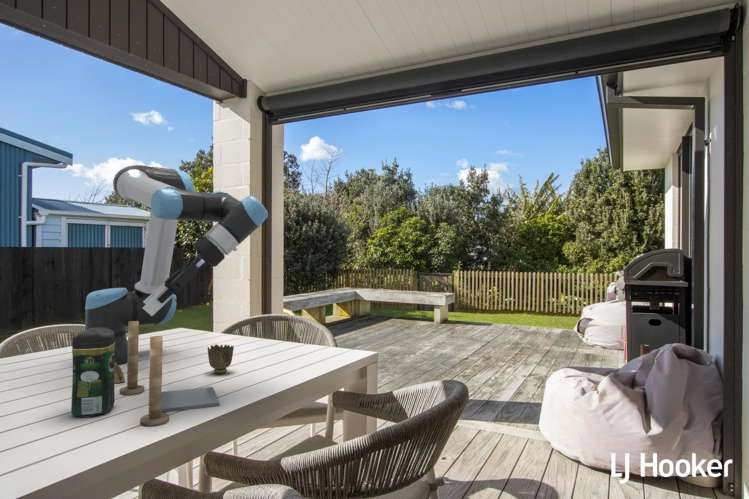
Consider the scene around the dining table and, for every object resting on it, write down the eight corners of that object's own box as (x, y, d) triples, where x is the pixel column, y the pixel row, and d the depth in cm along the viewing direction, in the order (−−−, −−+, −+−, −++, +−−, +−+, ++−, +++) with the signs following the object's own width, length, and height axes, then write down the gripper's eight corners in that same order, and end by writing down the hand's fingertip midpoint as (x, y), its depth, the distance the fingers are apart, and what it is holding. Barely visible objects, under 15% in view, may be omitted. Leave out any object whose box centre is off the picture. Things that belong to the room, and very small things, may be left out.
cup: (225, 377, 137) (225, 349, 137) (202, 375, 139) (202, 348, 139) (237, 371, 144) (238, 344, 144) (215, 369, 146) (216, 343, 146)
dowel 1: (114, 394, 119) (116, 322, 119) (128, 388, 125) (129, 319, 125) (136, 395, 118) (137, 323, 119) (148, 389, 124) (150, 320, 124)
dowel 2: (134, 425, 98) (136, 338, 99) (149, 416, 104) (151, 334, 104) (160, 427, 98) (161, 339, 98) (174, 417, 104) (175, 335, 104)
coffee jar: (79, 405, 111) (81, 325, 111) (117, 403, 113) (119, 324, 113) (65, 419, 101) (67, 332, 101) (106, 417, 103) (108, 331, 104)
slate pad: (159, 412, 106) (159, 409, 106) (158, 395, 119) (158, 392, 119) (219, 405, 112) (219, 402, 112) (212, 389, 125) (212, 386, 125)
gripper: (234, 257, 108) (160, 327, 102) (219, 256, 131) (158, 313, 124) (210, 233, 106) (133, 303, 99) (199, 236, 128) (136, 293, 122)
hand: (147, 308), depth 112 cm, fingers open, 13 cm apart
